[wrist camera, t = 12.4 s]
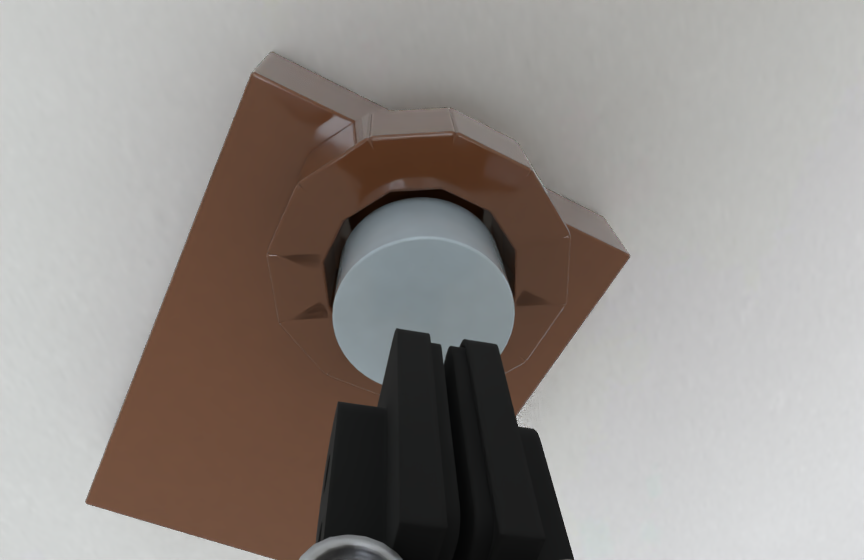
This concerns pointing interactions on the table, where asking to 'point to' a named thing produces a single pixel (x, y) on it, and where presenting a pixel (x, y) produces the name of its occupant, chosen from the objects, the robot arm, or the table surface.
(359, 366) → the pale blue short cylinder
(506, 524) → the robot arm
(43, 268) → the table surface
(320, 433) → the brown mounting plate
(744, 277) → the table surface
